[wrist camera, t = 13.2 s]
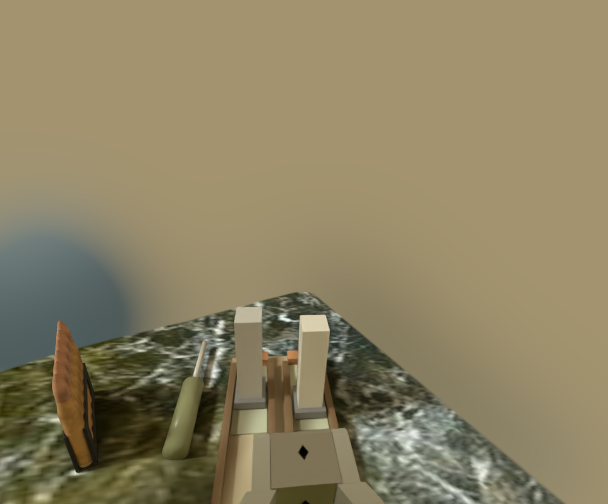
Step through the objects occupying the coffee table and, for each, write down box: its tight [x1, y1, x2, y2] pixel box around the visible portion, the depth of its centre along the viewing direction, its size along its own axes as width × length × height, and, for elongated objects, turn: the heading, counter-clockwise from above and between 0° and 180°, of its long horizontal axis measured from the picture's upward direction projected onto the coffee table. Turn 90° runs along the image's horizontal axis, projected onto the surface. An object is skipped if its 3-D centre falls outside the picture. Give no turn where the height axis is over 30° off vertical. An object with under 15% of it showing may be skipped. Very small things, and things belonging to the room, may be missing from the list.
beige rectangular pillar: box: [293, 315, 330, 419], centre depth 36 cm, size 4×4×12 cm
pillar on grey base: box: [234, 307, 266, 410], centre depth 37 cm, size 4×4×12 cm
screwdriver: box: [162, 341, 207, 460], centre depth 41 cm, size 17×3×3 cm, turn 6°
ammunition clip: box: [52, 321, 98, 473], centre depth 34 cm, size 11×2×12 cm, turn 33°
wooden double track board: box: [211, 351, 339, 504], centre depth 33 cm, size 13×29×2 cm, turn 6°
